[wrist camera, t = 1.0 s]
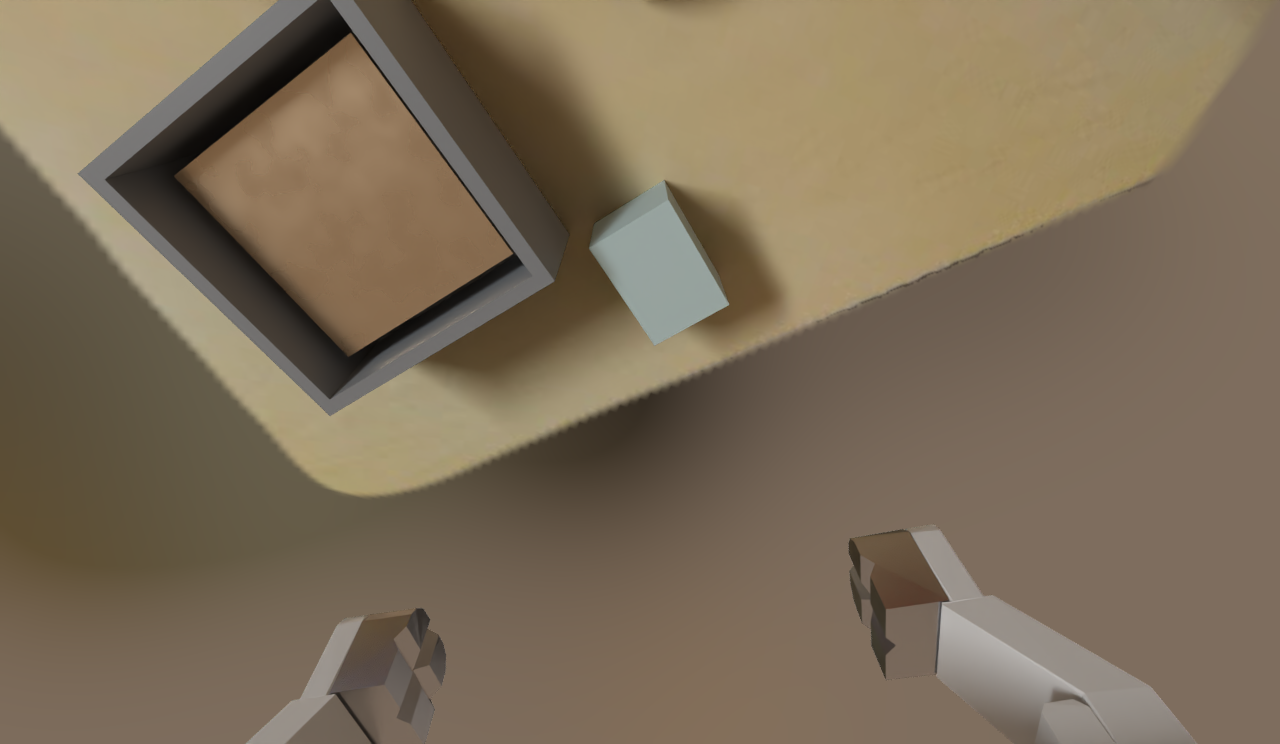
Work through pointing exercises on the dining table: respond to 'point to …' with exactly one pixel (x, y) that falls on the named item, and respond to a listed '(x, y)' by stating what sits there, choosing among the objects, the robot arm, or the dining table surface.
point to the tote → (230, 277)
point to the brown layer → (346, 200)
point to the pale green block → (658, 264)
